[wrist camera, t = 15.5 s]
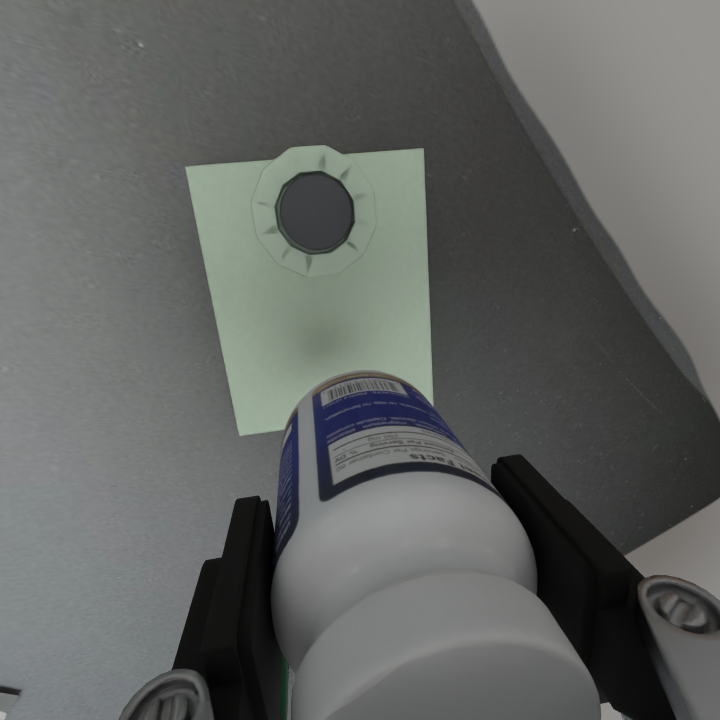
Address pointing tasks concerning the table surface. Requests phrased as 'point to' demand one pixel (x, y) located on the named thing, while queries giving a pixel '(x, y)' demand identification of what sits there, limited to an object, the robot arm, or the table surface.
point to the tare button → (315, 211)
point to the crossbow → (6, 704)
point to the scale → (314, 278)
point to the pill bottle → (407, 571)
